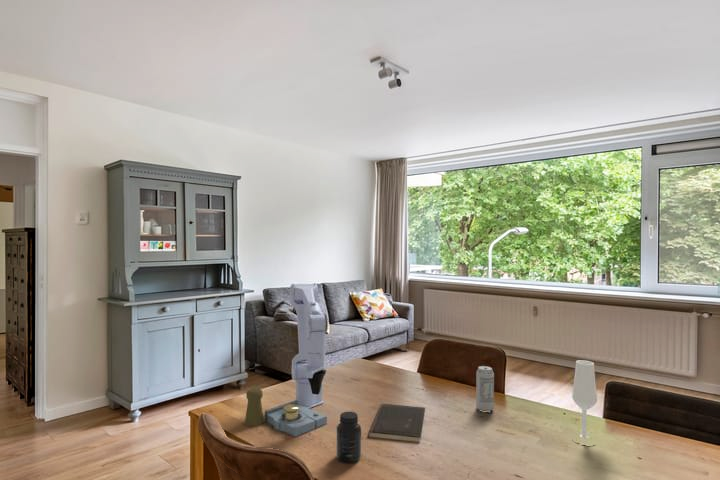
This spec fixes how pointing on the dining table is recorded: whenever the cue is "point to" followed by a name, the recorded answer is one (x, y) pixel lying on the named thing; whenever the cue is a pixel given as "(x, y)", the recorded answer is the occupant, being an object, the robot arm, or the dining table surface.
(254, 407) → the olive green tapered piece
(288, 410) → the cylinder
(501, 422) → the dining table surface
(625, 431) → the dining table surface
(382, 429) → the hardcover book
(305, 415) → the block
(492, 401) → the energy drink can
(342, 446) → the supplement bottle
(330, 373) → the dining table surface
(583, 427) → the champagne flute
